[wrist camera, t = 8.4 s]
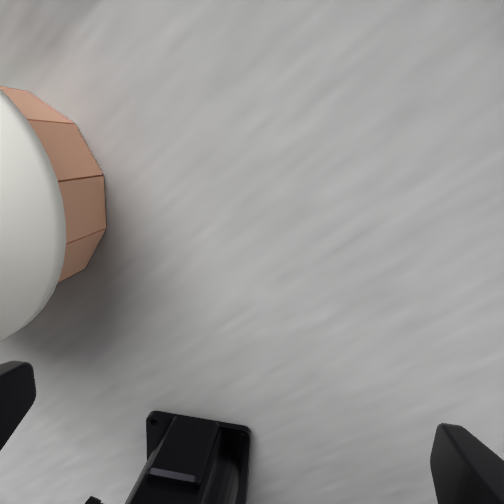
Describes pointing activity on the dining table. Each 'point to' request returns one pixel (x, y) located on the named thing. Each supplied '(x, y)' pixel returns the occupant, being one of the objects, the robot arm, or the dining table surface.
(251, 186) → the dining table surface
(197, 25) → the dining table surface
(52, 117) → the faceted tan prism
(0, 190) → the lid
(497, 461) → the robot arm
